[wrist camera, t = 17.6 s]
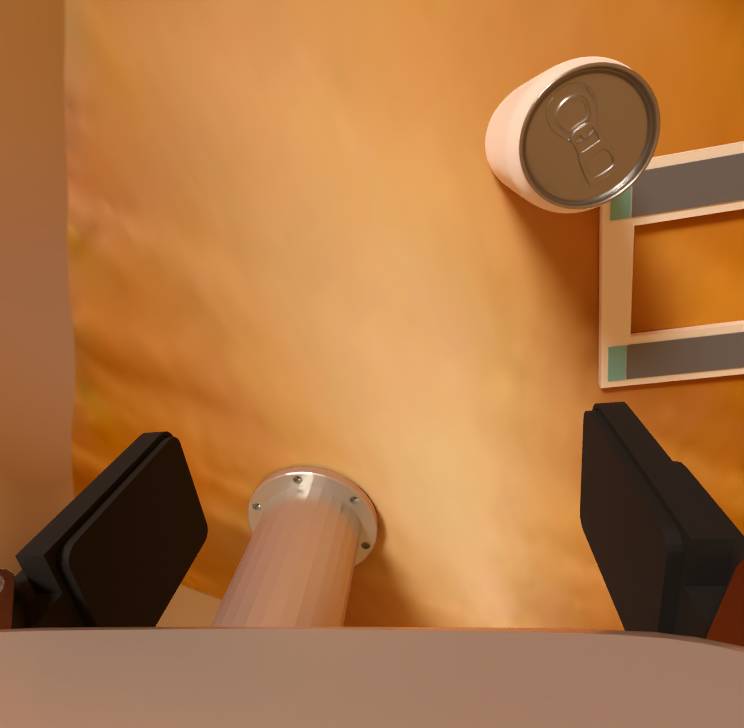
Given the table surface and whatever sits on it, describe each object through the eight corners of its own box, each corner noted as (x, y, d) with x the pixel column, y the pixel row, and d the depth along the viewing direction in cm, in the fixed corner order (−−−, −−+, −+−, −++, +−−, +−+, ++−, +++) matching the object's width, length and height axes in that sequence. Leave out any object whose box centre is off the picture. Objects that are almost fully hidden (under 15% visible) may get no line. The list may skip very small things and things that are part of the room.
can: (557, 55, 29) (629, 7, 18) (606, 150, 31) (698, 157, 20) (464, 127, 31) (480, 122, 20) (515, 211, 33) (554, 248, 22)
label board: (771, 366, 35) (778, 371, 35) (598, 384, 38) (601, 389, 37) (811, 129, 29) (819, 128, 28) (599, 167, 31) (603, 167, 31)
